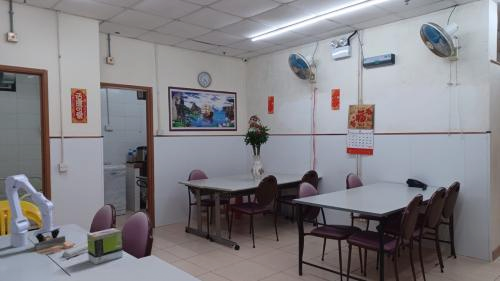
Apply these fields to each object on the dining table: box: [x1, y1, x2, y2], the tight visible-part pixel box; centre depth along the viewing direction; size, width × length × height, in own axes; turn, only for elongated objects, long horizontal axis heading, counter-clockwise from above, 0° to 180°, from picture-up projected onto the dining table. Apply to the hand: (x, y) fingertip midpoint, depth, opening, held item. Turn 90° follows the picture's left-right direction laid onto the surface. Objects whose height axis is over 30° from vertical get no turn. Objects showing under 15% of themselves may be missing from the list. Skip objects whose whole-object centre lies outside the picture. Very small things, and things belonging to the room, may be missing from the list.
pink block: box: [50, 246, 62, 254], centre depth 200 cm, size 4×4×3 cm
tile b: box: [63, 240, 75, 250], centre depth 208 cm, size 4×4×3 cm
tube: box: [62, 241, 88, 260], centre depth 203 cm, size 5×5×25 cm
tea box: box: [86, 227, 124, 265], centre depth 192 cm, size 15×10×15 cm, turn 134°
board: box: [25, 243, 77, 255], centre depth 209 cm, size 18×20×2 cm
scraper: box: [34, 234, 66, 251], centre depth 212 cm, size 9×17×5 cm, turn 150°
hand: (47, 244), depth 211 cm, fingers open, 7 cm apart
